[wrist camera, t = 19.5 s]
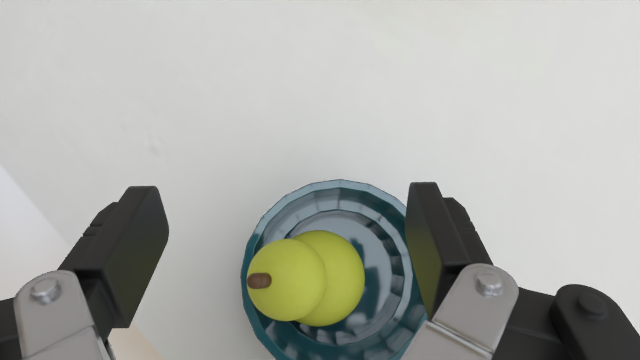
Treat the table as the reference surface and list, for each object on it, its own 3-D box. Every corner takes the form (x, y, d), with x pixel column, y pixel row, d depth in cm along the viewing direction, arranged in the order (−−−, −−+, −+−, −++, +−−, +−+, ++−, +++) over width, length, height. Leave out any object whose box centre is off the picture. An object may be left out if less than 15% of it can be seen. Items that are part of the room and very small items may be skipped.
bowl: (298, 390, 25) (292, 421, 20) (231, 236, 27) (210, 230, 22) (446, 312, 26) (475, 324, 21) (371, 169, 28) (381, 149, 23)
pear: (318, 333, 25) (222, 367, 17) (288, 255, 27) (189, 252, 19) (392, 298, 24) (325, 317, 16) (354, 218, 26) (277, 197, 18)
